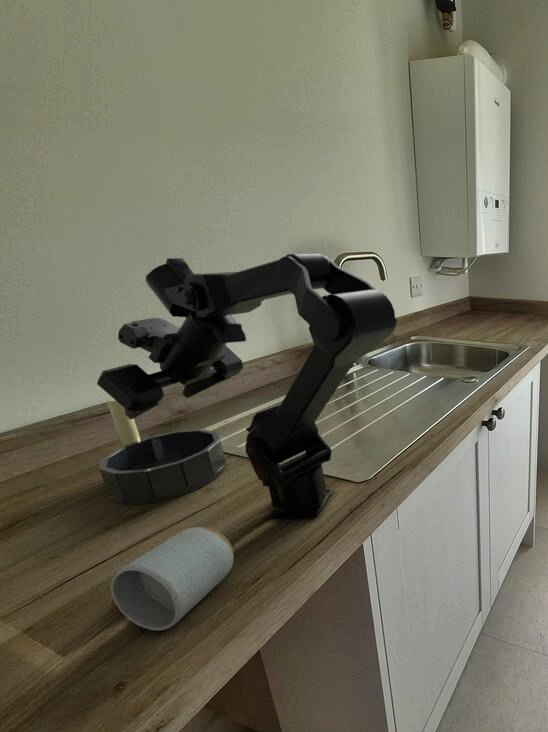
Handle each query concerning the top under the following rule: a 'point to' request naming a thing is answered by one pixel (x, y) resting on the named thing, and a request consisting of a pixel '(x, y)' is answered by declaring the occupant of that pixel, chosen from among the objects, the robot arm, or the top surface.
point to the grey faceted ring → (159, 462)
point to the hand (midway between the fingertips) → (158, 405)
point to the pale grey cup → (172, 577)
